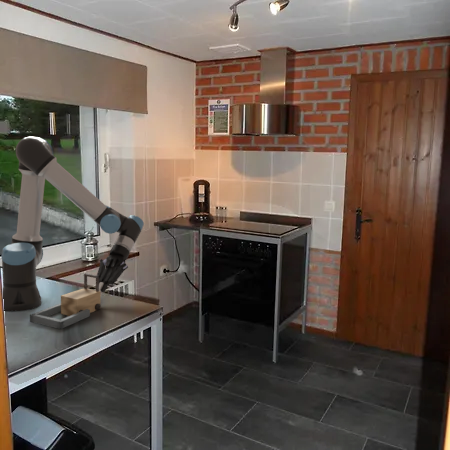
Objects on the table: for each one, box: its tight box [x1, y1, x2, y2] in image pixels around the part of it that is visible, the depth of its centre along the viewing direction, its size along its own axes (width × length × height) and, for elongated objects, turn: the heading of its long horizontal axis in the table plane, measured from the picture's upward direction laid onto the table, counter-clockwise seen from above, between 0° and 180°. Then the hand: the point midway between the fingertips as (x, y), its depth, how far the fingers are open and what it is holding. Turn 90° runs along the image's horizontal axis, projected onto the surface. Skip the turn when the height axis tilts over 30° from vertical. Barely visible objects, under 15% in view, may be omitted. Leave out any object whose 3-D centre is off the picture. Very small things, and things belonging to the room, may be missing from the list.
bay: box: [29, 302, 91, 330], centre depth 163 cm, size 14×14×2 cm
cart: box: [60, 272, 102, 317], centre depth 171 cm, size 9×12×13 cm
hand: (95, 298), depth 178 cm, fingers closed
